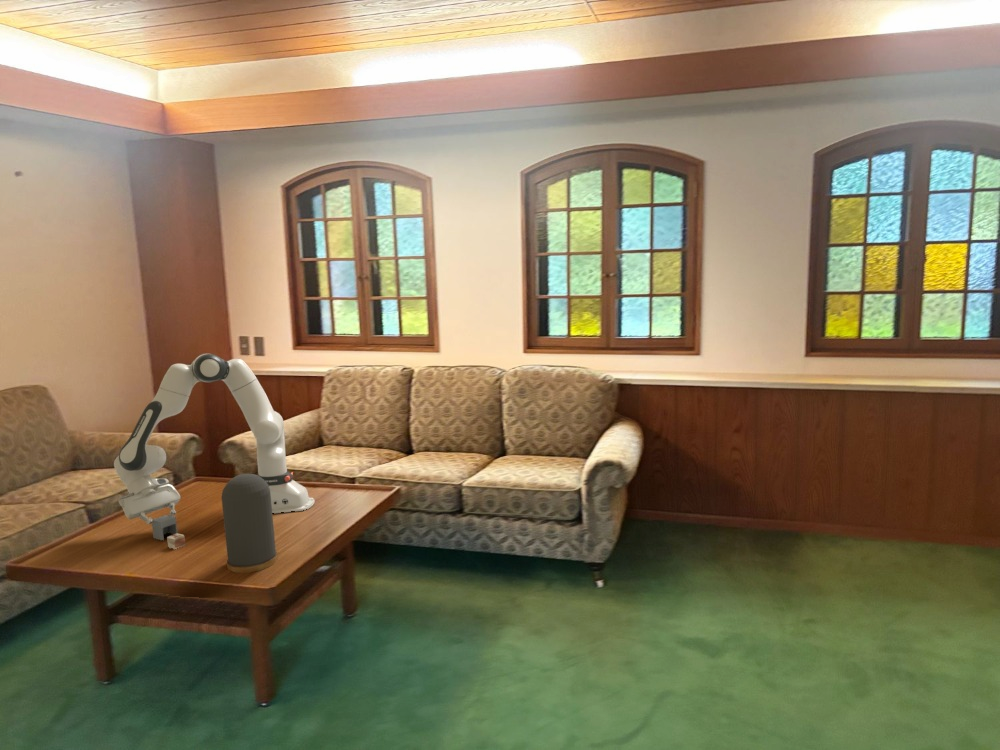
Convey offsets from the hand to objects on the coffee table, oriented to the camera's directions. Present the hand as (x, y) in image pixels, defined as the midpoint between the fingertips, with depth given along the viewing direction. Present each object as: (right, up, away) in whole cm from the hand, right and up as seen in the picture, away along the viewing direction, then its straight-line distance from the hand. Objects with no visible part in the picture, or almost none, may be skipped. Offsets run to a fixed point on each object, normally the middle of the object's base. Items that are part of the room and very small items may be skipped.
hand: (162, 518), depth 256 cm
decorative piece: (+42, -9, -26) cm, 50 cm away
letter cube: (+10, -8, -9) cm, 16 cm away
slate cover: (+1, -7, +1) cm, 7 cm away
